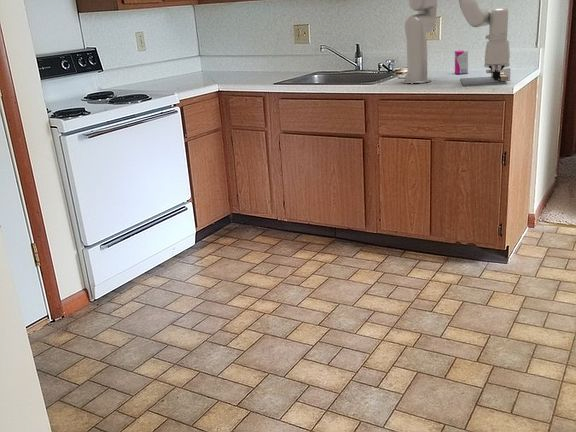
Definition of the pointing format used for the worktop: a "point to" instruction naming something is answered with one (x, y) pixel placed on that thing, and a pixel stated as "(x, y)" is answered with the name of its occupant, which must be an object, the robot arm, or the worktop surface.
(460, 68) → the supplement box
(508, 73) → the keeper
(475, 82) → the base plate
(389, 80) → the worktop surface
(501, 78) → the link
